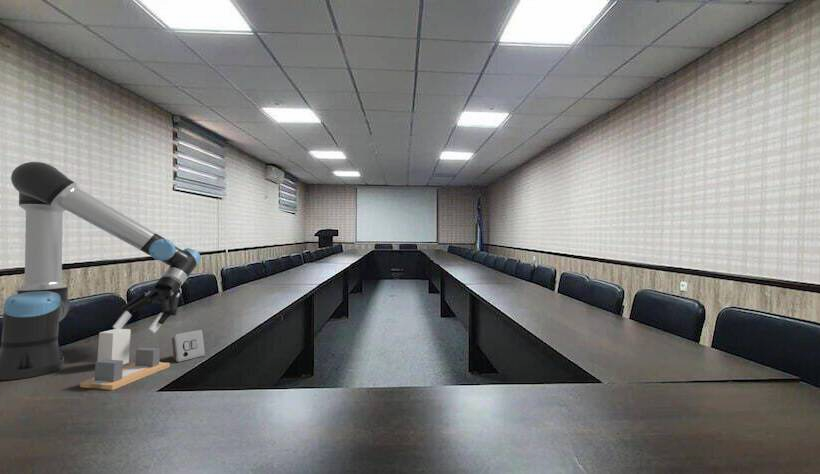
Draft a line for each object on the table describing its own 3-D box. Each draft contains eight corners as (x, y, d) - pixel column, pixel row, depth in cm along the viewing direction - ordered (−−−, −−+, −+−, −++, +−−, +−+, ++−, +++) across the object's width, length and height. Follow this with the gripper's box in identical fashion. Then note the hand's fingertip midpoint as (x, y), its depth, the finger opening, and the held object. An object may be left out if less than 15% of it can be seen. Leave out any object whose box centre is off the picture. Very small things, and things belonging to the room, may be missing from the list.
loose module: (97, 367, 109) (99, 332, 110) (115, 361, 115) (117, 328, 116) (111, 368, 109) (113, 333, 109) (128, 362, 115) (130, 329, 115)
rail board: (80, 387, 94) (81, 363, 94) (142, 364, 113) (143, 345, 113) (112, 389, 93) (113, 366, 93) (169, 366, 112) (170, 347, 112)
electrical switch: (177, 363, 116) (177, 334, 117) (169, 361, 118) (169, 334, 119) (205, 356, 124) (205, 329, 125) (196, 355, 126) (196, 329, 127)
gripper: (205, 289, 134) (172, 338, 119) (147, 286, 137) (108, 334, 122) (196, 276, 129) (160, 325, 114) (136, 274, 132) (93, 322, 117)
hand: (133, 330), depth 118 cm, fingers open, 13 cm apart
